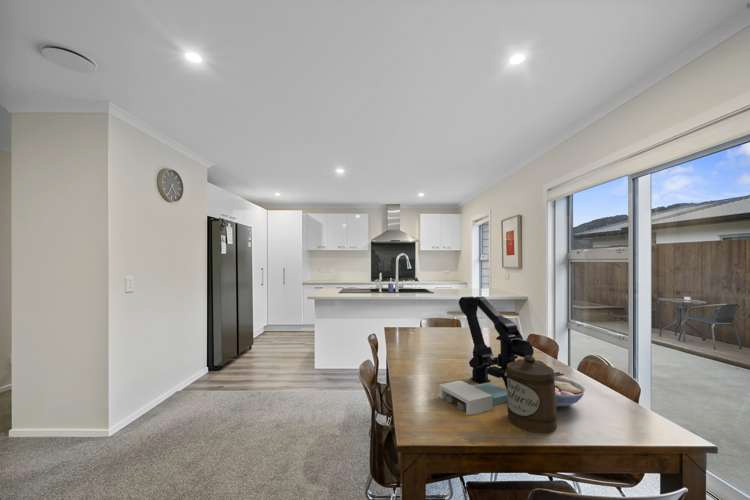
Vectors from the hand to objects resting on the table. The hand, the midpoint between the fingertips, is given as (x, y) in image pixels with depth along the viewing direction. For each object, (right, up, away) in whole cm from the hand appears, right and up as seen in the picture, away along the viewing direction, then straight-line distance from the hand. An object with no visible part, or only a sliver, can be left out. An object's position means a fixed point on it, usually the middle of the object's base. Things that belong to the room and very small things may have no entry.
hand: (508, 390), depth 129 cm
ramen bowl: (+12, -1, -10) cm, 16 cm away
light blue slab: (-8, -1, -4) cm, 9 cm away
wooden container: (-3, 0, -25) cm, 25 cm away
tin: (+19, -3, +19) cm, 27 cm away
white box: (-21, 0, -10) cm, 24 cm away
